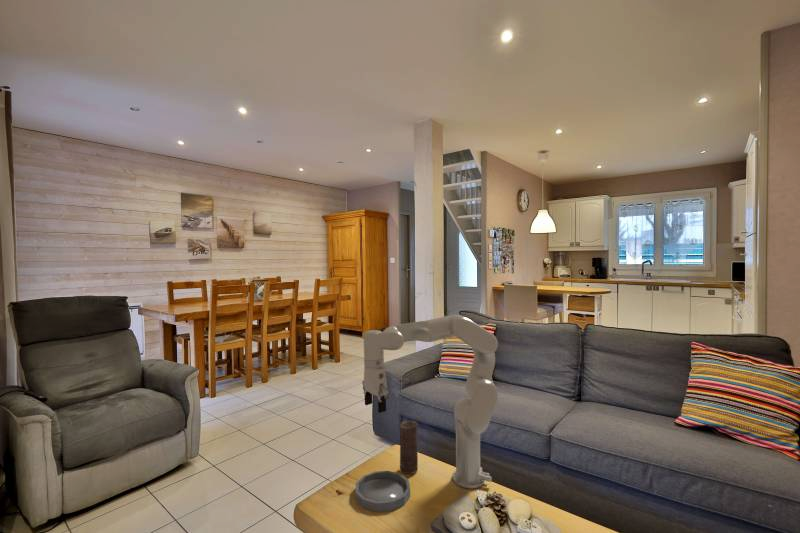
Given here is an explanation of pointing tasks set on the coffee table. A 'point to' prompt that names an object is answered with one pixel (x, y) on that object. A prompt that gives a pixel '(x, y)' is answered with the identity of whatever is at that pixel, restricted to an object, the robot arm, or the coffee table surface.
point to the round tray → (382, 491)
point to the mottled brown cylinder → (408, 447)
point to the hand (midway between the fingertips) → (375, 407)
